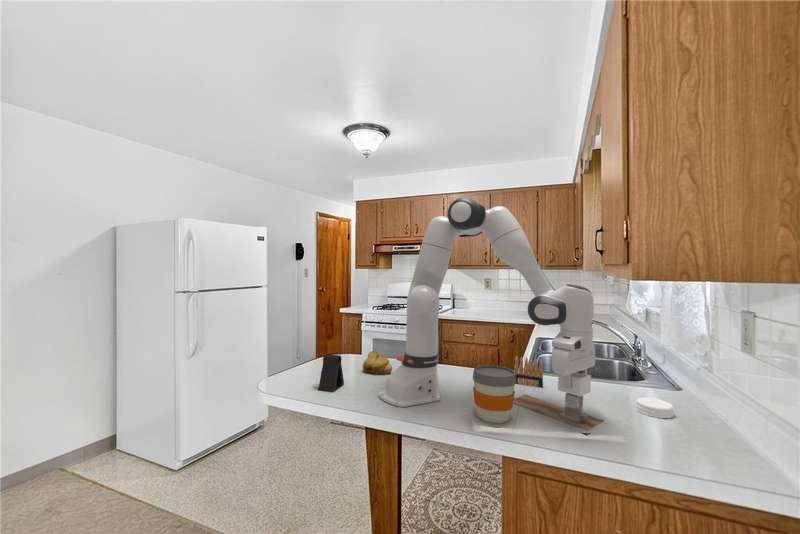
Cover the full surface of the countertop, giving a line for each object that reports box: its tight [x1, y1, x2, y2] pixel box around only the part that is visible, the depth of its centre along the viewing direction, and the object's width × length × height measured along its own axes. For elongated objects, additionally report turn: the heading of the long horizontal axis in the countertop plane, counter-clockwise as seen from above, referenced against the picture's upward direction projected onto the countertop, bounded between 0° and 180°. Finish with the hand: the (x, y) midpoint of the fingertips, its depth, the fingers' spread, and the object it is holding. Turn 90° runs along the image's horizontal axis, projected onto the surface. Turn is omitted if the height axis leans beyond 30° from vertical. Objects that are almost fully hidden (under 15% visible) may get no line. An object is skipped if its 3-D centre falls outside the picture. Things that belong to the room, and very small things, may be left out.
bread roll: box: [362, 350, 393, 375], centre depth 155 cm, size 13×10×8 cm
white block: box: [557, 371, 592, 397], centre depth 110 cm, size 7×7×6 cm
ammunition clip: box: [513, 355, 544, 389], centre depth 139 cm, size 11×2×12 cm, turn 67°
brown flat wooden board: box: [513, 392, 605, 437], centre depth 115 cm, size 11×26×8 cm, turn 39°
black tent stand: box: [317, 353, 345, 393], centre depth 135 cm, size 9×6×12 cm, turn 164°
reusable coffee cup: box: [472, 364, 517, 429], centre depth 109 cm, size 13×13×15 cm
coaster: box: [635, 396, 675, 419], centre depth 119 cm, size 10×10×4 cm
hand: (574, 385), depth 110 cm, fingers closed on white block, 7 cm apart
